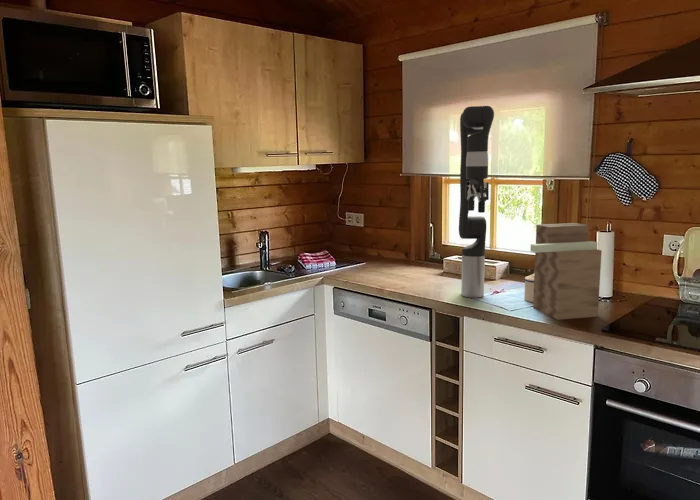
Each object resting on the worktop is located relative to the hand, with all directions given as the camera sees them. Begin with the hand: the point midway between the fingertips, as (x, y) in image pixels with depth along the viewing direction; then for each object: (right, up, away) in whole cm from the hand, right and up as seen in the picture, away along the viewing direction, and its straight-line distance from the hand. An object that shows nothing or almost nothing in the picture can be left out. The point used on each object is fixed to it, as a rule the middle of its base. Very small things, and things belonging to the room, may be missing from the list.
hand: (476, 211), depth 187 cm
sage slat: (+31, -14, 0) cm, 34 cm away
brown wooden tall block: (+35, -37, +9) cm, 51 cm away
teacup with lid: (+31, -34, +27) cm, 53 cm away
